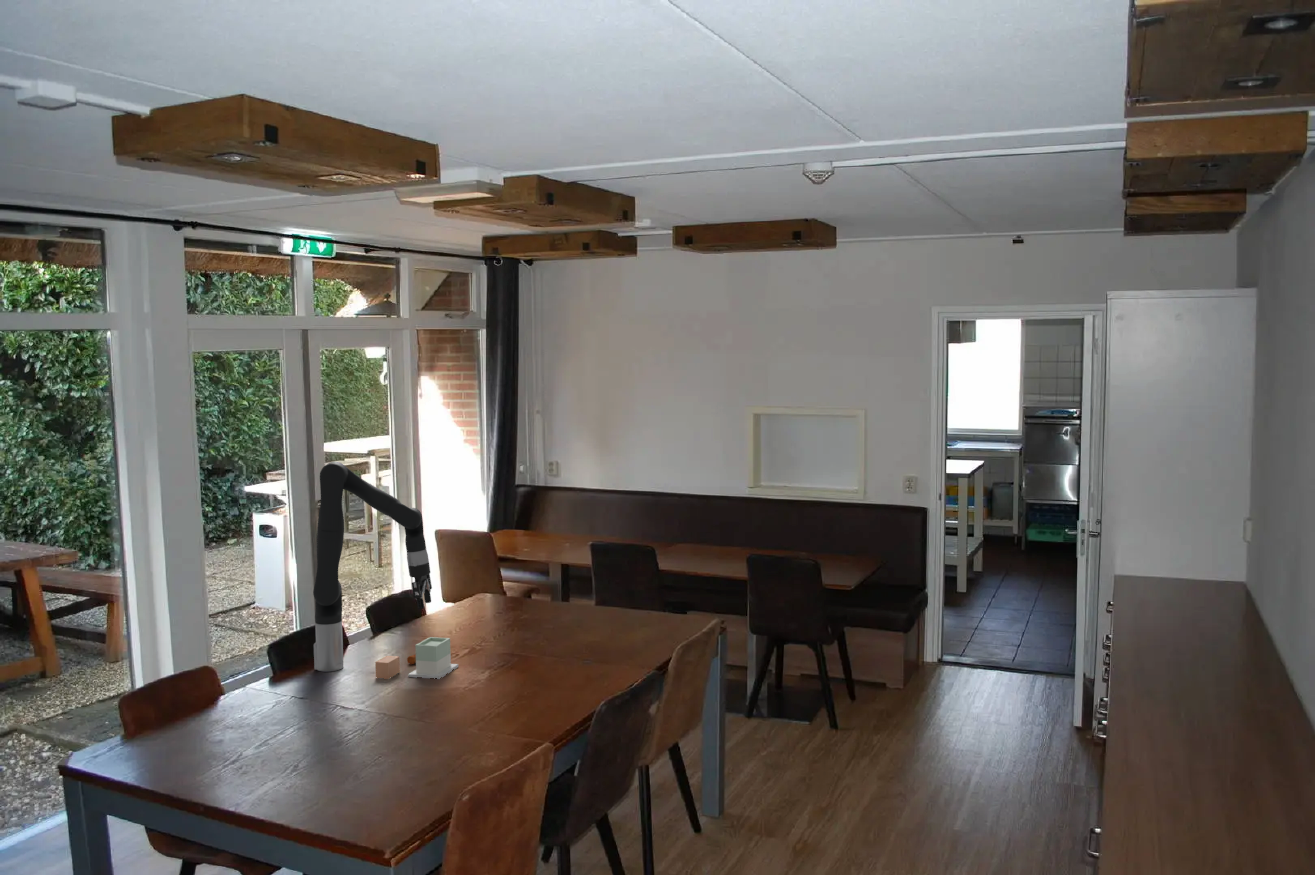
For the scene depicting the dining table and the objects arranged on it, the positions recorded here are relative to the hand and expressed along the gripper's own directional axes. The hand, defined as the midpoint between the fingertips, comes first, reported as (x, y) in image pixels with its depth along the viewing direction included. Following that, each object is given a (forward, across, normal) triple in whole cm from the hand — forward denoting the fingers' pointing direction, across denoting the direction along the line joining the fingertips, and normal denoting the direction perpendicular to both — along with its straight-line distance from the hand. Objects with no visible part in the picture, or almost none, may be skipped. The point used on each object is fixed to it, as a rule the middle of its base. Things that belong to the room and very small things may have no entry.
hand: (424, 605), depth 385 cm
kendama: (+22, -7, -4) cm, 23 cm away
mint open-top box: (+22, +11, +4) cm, 25 cm away
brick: (+20, +16, -11) cm, 28 cm away
